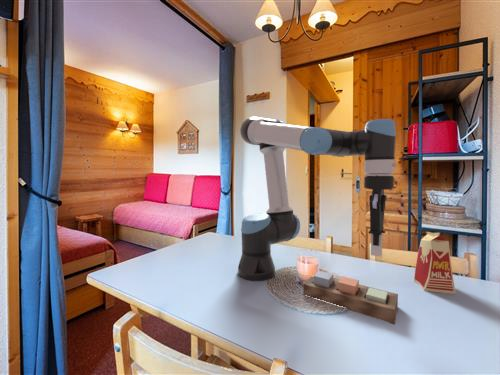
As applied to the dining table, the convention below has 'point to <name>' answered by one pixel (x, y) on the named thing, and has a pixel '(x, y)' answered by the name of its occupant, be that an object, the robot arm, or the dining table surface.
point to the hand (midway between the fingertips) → (376, 255)
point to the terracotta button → (348, 285)
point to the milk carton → (434, 265)
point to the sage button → (377, 295)
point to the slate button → (323, 279)
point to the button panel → (354, 300)
